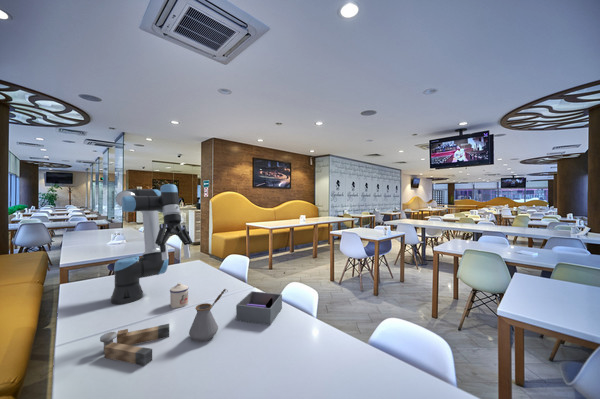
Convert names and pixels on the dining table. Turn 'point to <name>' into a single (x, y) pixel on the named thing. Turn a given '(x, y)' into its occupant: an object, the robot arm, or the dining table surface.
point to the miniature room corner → (263, 305)
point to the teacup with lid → (179, 296)
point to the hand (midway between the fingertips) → (177, 258)
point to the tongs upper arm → (137, 335)
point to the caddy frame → (259, 308)
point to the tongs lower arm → (127, 353)
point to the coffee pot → (204, 322)
